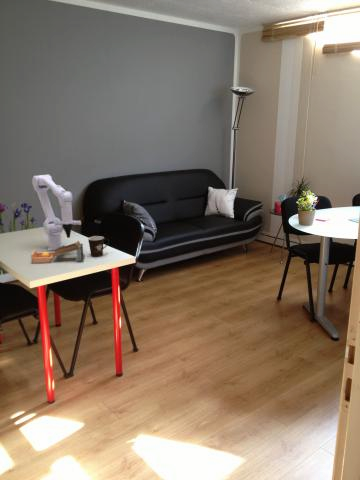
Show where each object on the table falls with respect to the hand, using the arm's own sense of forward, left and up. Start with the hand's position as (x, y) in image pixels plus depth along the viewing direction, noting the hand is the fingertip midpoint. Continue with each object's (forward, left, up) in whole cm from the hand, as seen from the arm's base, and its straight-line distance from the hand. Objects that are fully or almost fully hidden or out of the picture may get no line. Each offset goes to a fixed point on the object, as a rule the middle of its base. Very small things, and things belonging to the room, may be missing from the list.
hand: (68, 237), depth 247 cm
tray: (+10, -13, -10) cm, 19 cm away
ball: (+10, -12, -7) cm, 17 cm away
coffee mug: (+4, +17, -10) cm, 20 cm away
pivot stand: (+10, +7, -10) cm, 16 cm away
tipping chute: (+6, 0, -5) cm, 8 cm away
